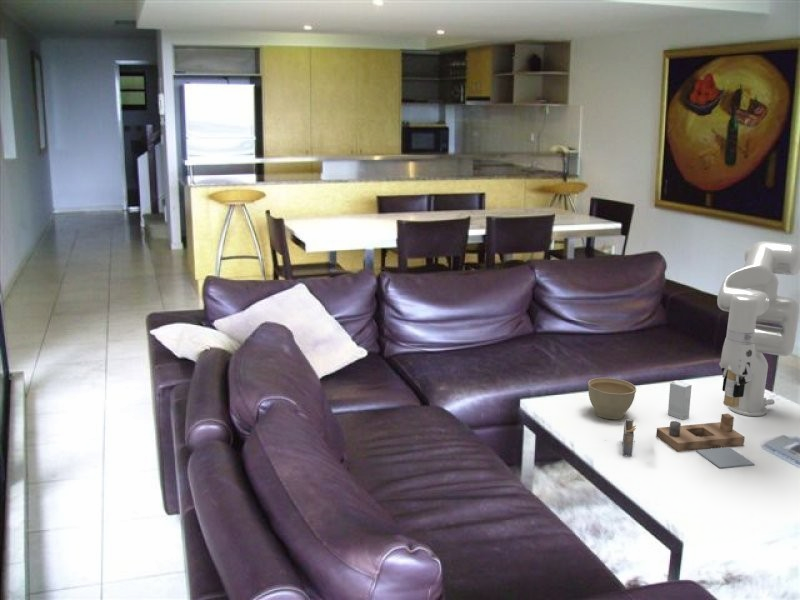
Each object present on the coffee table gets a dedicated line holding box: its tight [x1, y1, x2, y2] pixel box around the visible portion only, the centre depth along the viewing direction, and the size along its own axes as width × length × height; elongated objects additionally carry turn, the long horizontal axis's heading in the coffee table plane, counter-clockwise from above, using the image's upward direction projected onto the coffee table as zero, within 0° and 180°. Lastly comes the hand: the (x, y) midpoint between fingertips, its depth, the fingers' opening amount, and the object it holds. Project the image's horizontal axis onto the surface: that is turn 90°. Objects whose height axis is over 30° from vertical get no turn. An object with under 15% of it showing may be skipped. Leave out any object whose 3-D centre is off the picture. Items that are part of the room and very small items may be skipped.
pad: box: [695, 447, 755, 470], centre depth 243 cm, size 12×12×1 cm
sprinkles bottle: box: [722, 365, 743, 408], centre depth 238 cm, size 5×5×14 cm
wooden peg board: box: [656, 413, 746, 453], centre depth 255 cm, size 24×12×8 cm, turn 104°
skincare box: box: [667, 380, 692, 420], centre depth 274 cm, size 6×4×12 cm
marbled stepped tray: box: [622, 419, 637, 457], centre depth 248 cm, size 11×3×10 cm, turn 165°
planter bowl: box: [587, 377, 637, 420], centre depth 274 cm, size 16×16×11 cm
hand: (732, 393), depth 238 cm, fingers closed on sprinkles bottle, 4 cm apart
